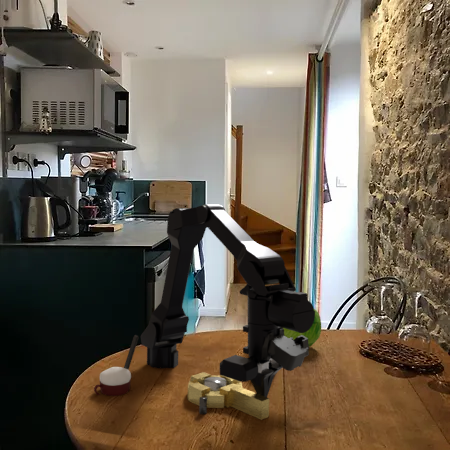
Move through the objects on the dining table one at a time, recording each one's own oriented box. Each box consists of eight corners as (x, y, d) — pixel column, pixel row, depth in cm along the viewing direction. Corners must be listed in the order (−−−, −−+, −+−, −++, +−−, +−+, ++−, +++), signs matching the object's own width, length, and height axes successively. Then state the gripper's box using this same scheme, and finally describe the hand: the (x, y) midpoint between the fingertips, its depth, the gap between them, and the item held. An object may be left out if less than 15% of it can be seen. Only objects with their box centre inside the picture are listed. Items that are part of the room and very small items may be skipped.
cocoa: (94, 406, 105) (92, 348, 104) (93, 393, 111) (91, 338, 110) (142, 400, 108) (141, 343, 106) (139, 387, 114) (137, 333, 112)
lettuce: (241, 342, 150) (242, 300, 149) (308, 339, 155) (309, 298, 154) (257, 358, 136) (258, 312, 135) (329, 354, 141) (330, 309, 141)
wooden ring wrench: (177, 395, 107) (177, 378, 107) (215, 382, 115) (216, 366, 115) (245, 427, 94) (245, 407, 94) (283, 410, 102) (284, 392, 101)
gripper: (267, 341, 87) (267, 433, 88) (326, 318, 101) (325, 397, 102) (217, 328, 94) (217, 413, 96) (278, 308, 108) (278, 383, 110)
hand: (262, 401), depth 101 cm, fingers closed
